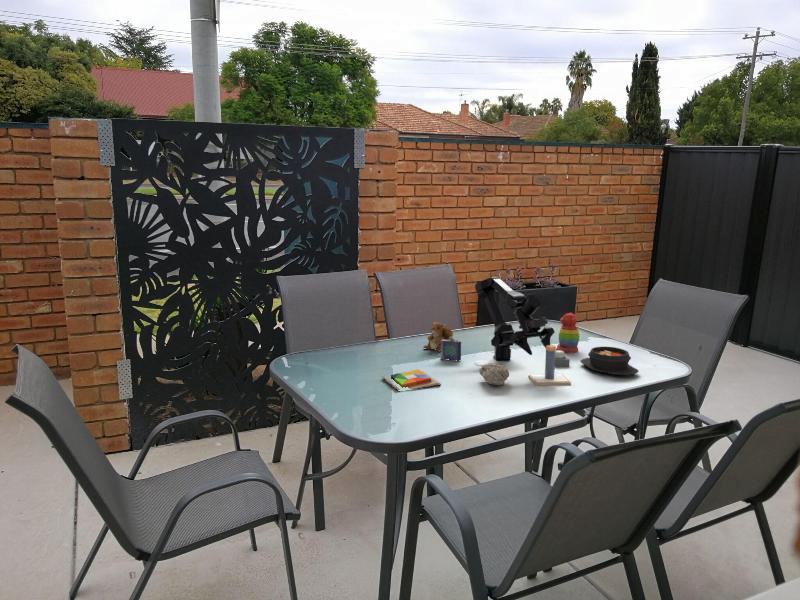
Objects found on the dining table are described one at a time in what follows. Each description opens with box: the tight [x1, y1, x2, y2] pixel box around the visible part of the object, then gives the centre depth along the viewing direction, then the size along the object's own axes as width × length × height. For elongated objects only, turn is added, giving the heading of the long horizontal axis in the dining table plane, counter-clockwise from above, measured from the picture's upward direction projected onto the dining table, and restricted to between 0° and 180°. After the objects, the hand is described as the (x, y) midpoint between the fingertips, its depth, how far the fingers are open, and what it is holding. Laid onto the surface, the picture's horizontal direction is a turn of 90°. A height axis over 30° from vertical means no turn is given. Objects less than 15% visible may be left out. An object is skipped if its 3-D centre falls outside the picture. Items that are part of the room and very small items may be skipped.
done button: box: [555, 350, 565, 359], centre depth 259 cm, size 4×4×4 cm
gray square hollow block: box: [555, 354, 571, 367], centre depth 260 cm, size 7×7×3 cm
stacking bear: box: [556, 311, 580, 354], centre depth 280 cm, size 11×10×18 cm
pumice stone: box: [478, 363, 510, 386], centre depth 233 cm, size 14×12×8 cm
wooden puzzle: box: [381, 368, 442, 391], centre depth 236 cm, size 18×19×4 cm
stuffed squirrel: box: [422, 321, 454, 353], centre depth 283 cm, size 10×14×13 cm
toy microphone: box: [544, 344, 557, 379], centre depth 236 cm, size 4×4×13 cm
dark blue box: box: [440, 335, 462, 362], centre depth 265 cm, size 9×3×11 cm, turn 71°
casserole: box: [579, 346, 639, 376], centre depth 251 cm, size 25×19×8 cm
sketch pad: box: [528, 373, 572, 386], centre depth 238 cm, size 14×10×1 cm
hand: (540, 353), depth 241 cm, fingers open, 9 cm apart
